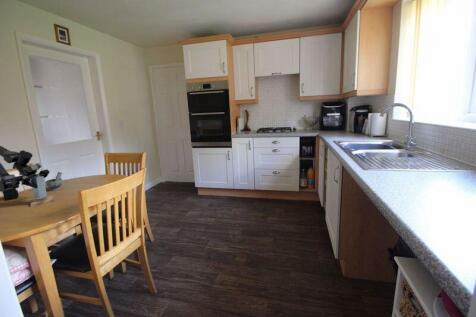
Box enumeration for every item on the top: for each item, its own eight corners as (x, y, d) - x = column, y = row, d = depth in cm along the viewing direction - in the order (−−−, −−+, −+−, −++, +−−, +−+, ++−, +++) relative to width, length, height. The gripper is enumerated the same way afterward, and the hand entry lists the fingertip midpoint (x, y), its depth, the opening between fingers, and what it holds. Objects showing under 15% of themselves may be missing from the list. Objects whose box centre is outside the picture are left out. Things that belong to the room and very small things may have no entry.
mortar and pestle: (52, 192, 161) (49, 175, 159) (44, 190, 165) (40, 174, 162) (68, 187, 172) (65, 171, 169) (60, 185, 175) (57, 170, 172)
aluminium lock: (40, 198, 141) (36, 177, 138) (34, 197, 142) (30, 177, 140) (47, 196, 144) (43, 176, 142) (41, 195, 146) (37, 175, 143)
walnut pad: (30, 206, 137) (30, 204, 136) (30, 202, 144) (30, 200, 144) (54, 201, 144) (53, 199, 144) (52, 197, 151) (52, 195, 151)
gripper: (9, 163, 131) (27, 183, 130) (44, 157, 148) (60, 174, 148) (3, 176, 134) (21, 195, 134) (38, 168, 152) (53, 185, 151)
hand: (40, 186), depth 142 cm, fingers closed on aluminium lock, 4 cm apart
